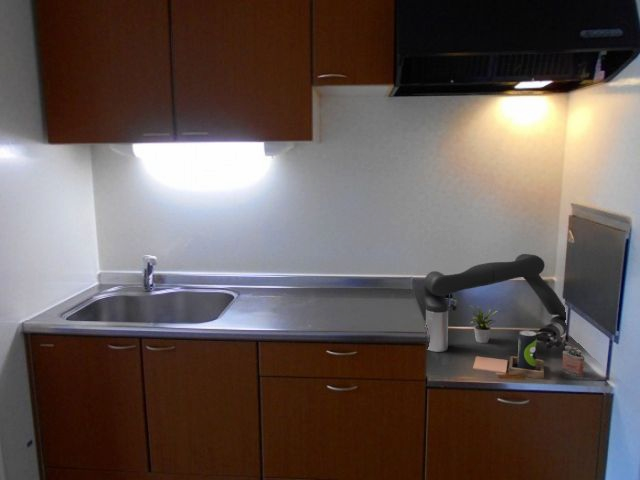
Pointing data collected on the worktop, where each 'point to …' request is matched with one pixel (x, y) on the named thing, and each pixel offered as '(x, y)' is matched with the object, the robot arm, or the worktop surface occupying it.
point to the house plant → (482, 326)
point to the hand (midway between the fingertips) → (536, 343)
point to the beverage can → (527, 350)
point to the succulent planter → (573, 361)
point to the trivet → (490, 364)
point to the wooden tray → (525, 371)
